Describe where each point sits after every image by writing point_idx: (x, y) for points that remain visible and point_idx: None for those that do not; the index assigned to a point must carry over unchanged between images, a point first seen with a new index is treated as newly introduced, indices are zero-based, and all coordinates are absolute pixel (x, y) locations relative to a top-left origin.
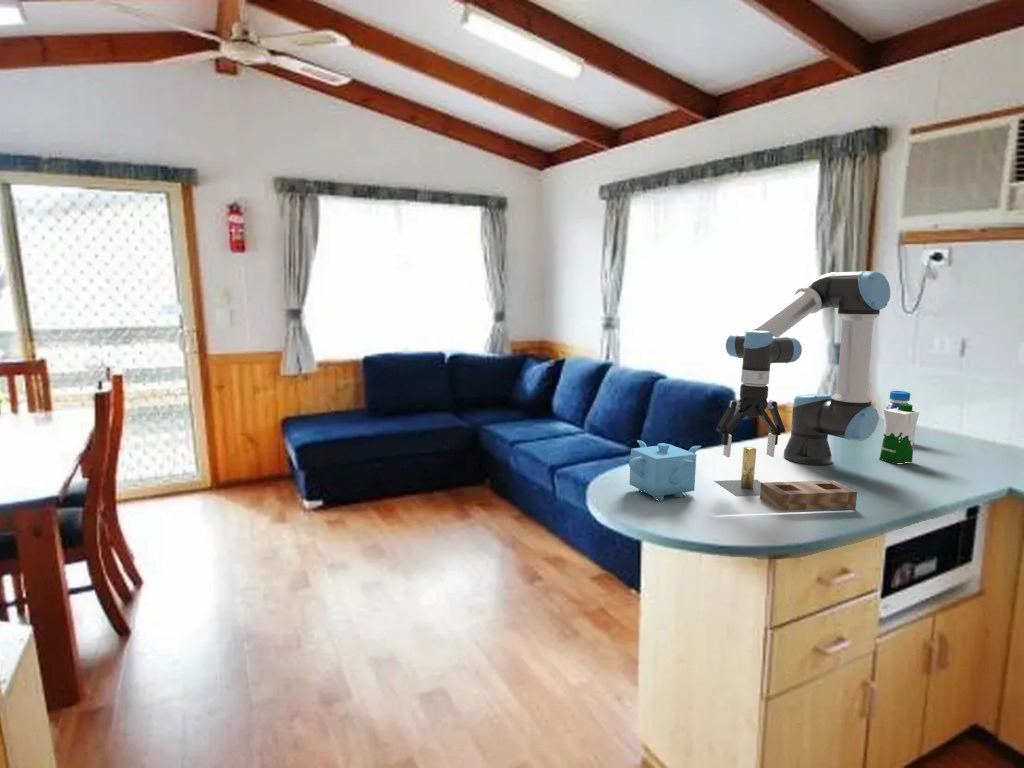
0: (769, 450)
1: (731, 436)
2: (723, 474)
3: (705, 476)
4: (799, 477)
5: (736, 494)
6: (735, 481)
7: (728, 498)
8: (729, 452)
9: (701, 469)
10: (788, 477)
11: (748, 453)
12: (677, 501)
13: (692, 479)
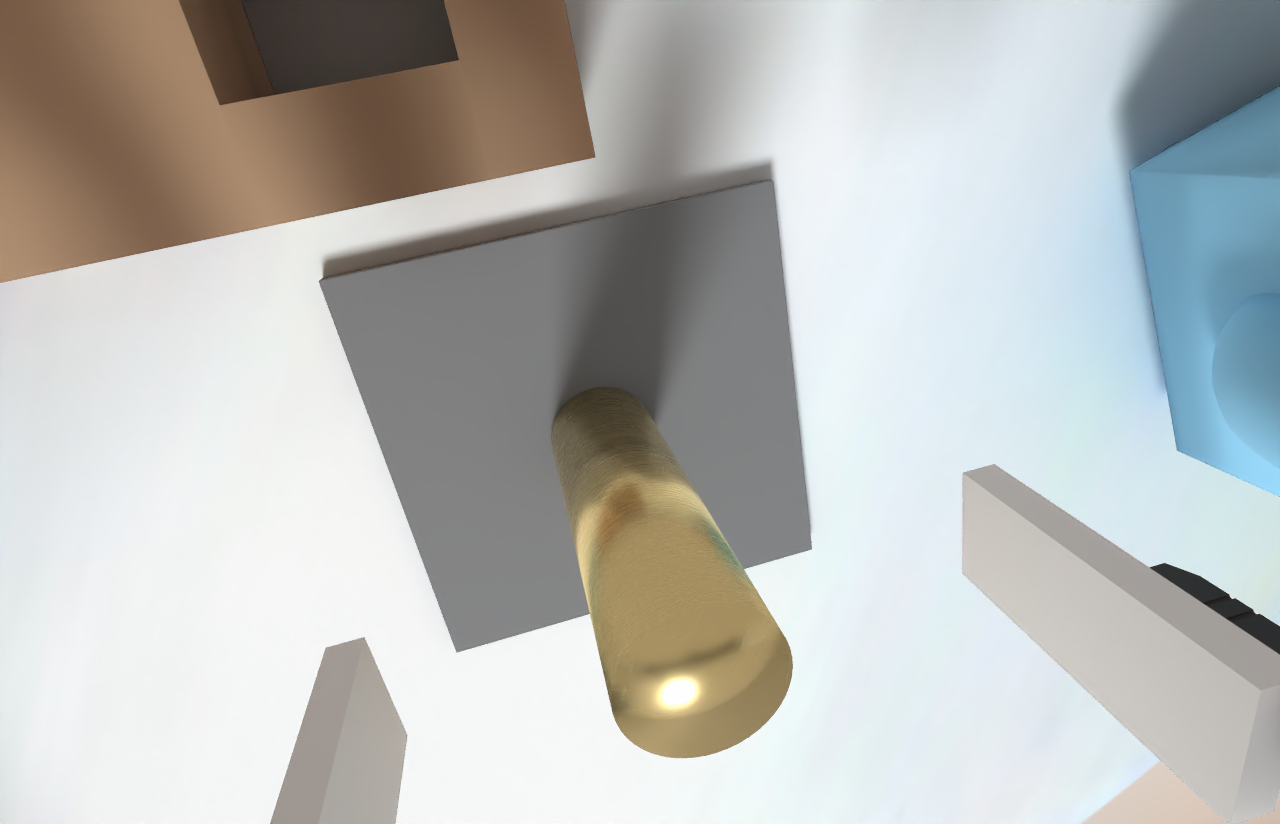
0: (374, 748)
1: (1243, 669)
2: None
3: (815, 660)
4: (42, 821)
5: (753, 230)
6: None
7: (834, 159)
8: (1019, 500)
9: (788, 793)
10: (149, 796)
11: (729, 572)
12: (1250, 36)
13: (1259, 160)
